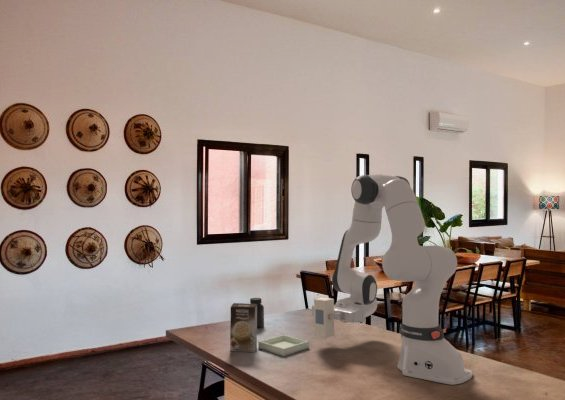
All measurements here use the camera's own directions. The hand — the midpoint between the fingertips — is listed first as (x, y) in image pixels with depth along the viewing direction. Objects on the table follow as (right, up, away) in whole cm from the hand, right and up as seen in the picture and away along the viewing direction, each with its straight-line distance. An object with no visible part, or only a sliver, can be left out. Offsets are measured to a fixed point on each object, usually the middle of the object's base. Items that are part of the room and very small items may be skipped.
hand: (322, 315), depth 174 cm
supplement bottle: (-26, -13, +34) cm, 45 cm away
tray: (-14, -12, +3) cm, 19 cm away
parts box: (+1, -7, 0) cm, 7 cm away
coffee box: (-28, -13, +2) cm, 31 cm away
